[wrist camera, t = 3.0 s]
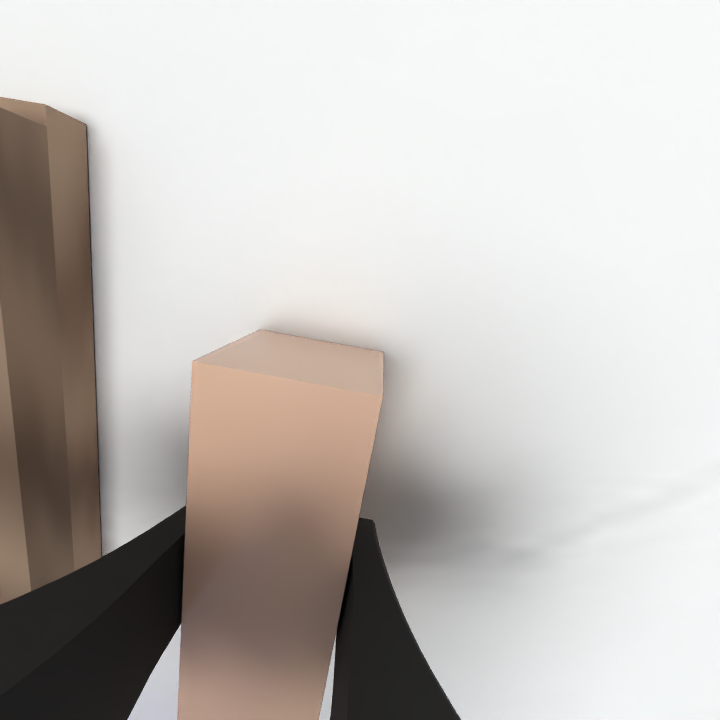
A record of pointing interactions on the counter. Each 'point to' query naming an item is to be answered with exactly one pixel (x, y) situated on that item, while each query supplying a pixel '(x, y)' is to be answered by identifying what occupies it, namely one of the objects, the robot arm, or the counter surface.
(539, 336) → the counter surface
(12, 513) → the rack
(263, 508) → the peach rectangular block
